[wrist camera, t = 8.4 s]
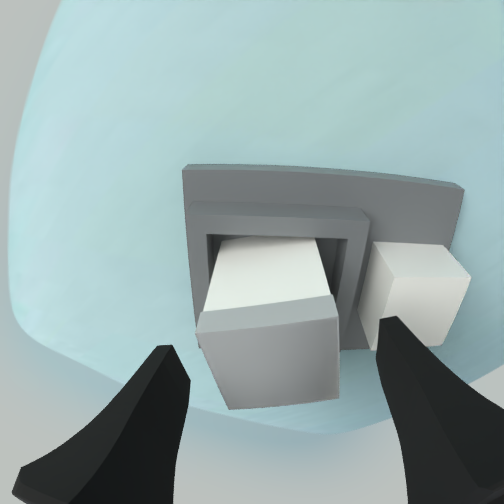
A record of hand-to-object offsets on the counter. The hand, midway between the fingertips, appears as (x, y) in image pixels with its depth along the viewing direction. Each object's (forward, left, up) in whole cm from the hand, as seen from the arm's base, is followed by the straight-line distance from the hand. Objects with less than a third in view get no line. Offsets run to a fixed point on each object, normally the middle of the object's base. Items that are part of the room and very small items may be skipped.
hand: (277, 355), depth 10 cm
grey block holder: (-2, 0, -6) cm, 7 cm away
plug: (0, 0, -5) cm, 5 cm away
